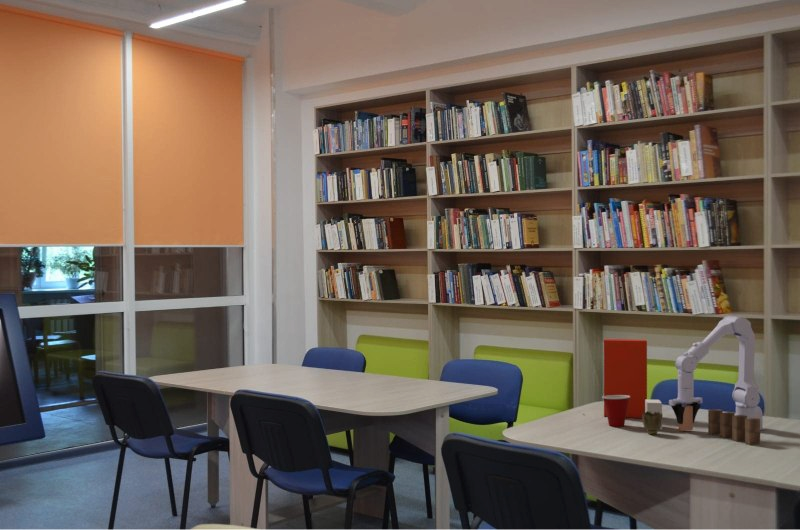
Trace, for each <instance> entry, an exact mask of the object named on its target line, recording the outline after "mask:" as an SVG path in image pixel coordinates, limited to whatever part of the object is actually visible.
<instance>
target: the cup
mask: <svg viewBox="0 0 800 530" xmlns="http://www.w3.org/2000/svg"><path fill="white" fill-rule="evenodd" d="M641 419H642V425H643V427H644V429H646V430H647V431H646V432H647V434H648V435H652V436H655V435H657V434H658V429H660V427H661V423H662V424H663V412H662V413H661V414H660V413H659V412H658V413H657V412H654V414H653V413H652V414H651V412H648V411H647V412H646V413H645V412H644V413H643V412H642V418H641Z"/></svg>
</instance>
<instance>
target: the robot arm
mask: <svg viewBox="0 0 800 530" xmlns="http://www.w3.org/2000/svg"><path fill="white" fill-rule="evenodd" d="M728 335H729V336H730V335H733V336H734V337H736V338H737V340H738V341H739V342H738V343H739V348H738V355H739V356H738V377H737V378H738V380H737V381H736V382H735V383H734V388H733V391H732V392H731V393H732V399H733V401H734V402H735V416H736V415H746V416H747V419H748V418H759V419H760V431H763V430H765V428H764V427H763V423H764V421H763V416H764V415H763V411H762V409H761V407H760V406H759V403H760V400H761V396H760V394H759V391H758V389H759V388H758V386H757V385H756V383H755V379H754V378H755V377H754V375H755V352H756V351H755V350H756V349H755V348H756V347H755V344H756V336H755V333H754V330H753V329H752V323H751V321H750V320H748V319H747V318H746V317H744V316H733V315H726V316H724V317H723V318H722V319H721V320H720V321H719V322H718V323H717V325H716V326H715V327H714V329H713V330H711V332H710V333H709V334H708V335H707V336H706V337H705V338H704V339H703V340H702V341H697V342H693V343H692V346H691V347H690V348H689V349H688V350H687V351H685V352H684V353H683V355H679V356H678V357H677V358H676V360H675V362H674V366H675V368H676V370H677V398H673V399H669V400H668V406H670V407H671V409H672V410H673V412H674V415H675V418H676V422H677V424H678V425H679V424H683V414H684V410H685V407H683V406H684V405H685V406H693V424H694V423H695V421H696V417H697V413H698V412H699V409H700V408H701V404H703V397H694V394H695V393H694V388H695V387H694V386H695V385H694V384H695V383H694V378H695V377H694V374H695V373H694V371H695V370H696V369H697V366H698V363H699V362H701V360H702V359H704V358H705V357H706V356H707V355H708V354H709V351H710V348H711V347H712V346H714V344H716V343H717V342H718V341H719V340H720V339H721V338H723V337H724V336H728Z"/></svg>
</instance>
